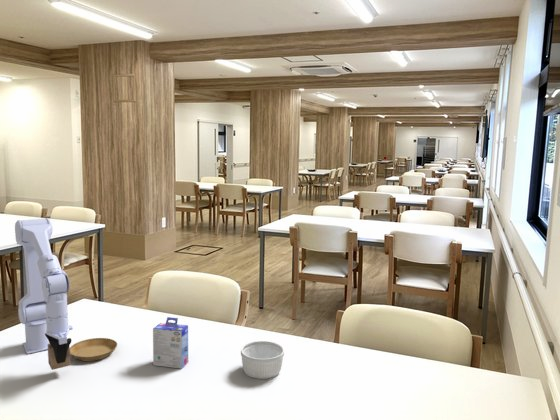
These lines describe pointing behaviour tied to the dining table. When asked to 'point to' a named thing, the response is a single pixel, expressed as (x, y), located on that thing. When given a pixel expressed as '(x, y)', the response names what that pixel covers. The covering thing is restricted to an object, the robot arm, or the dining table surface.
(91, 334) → the dining table surface
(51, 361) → the walnut block
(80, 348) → the plant saucer
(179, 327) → the ink cartridge box
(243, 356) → the ramekin
